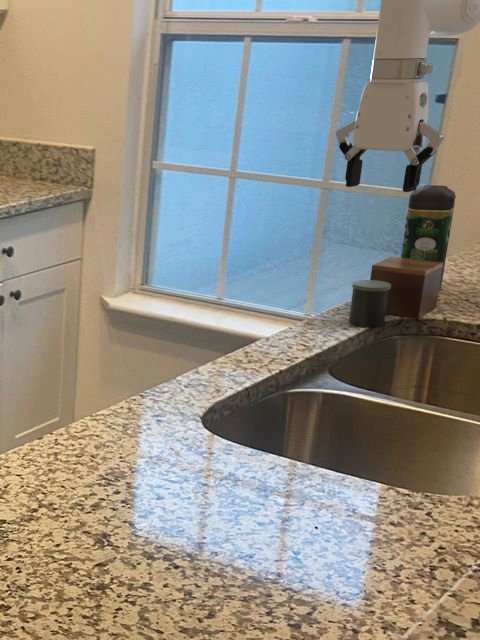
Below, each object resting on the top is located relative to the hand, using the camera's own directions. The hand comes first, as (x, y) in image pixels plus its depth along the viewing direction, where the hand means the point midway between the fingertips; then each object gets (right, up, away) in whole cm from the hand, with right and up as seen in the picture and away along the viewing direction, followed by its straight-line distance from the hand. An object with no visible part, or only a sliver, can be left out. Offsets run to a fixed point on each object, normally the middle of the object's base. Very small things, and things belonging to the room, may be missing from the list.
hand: (380, 188), depth 164 cm
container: (+1, -20, +8) cm, 22 cm away
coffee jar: (+20, -9, +31) cm, 38 cm away
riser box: (+10, -16, +16) cm, 25 cm away
